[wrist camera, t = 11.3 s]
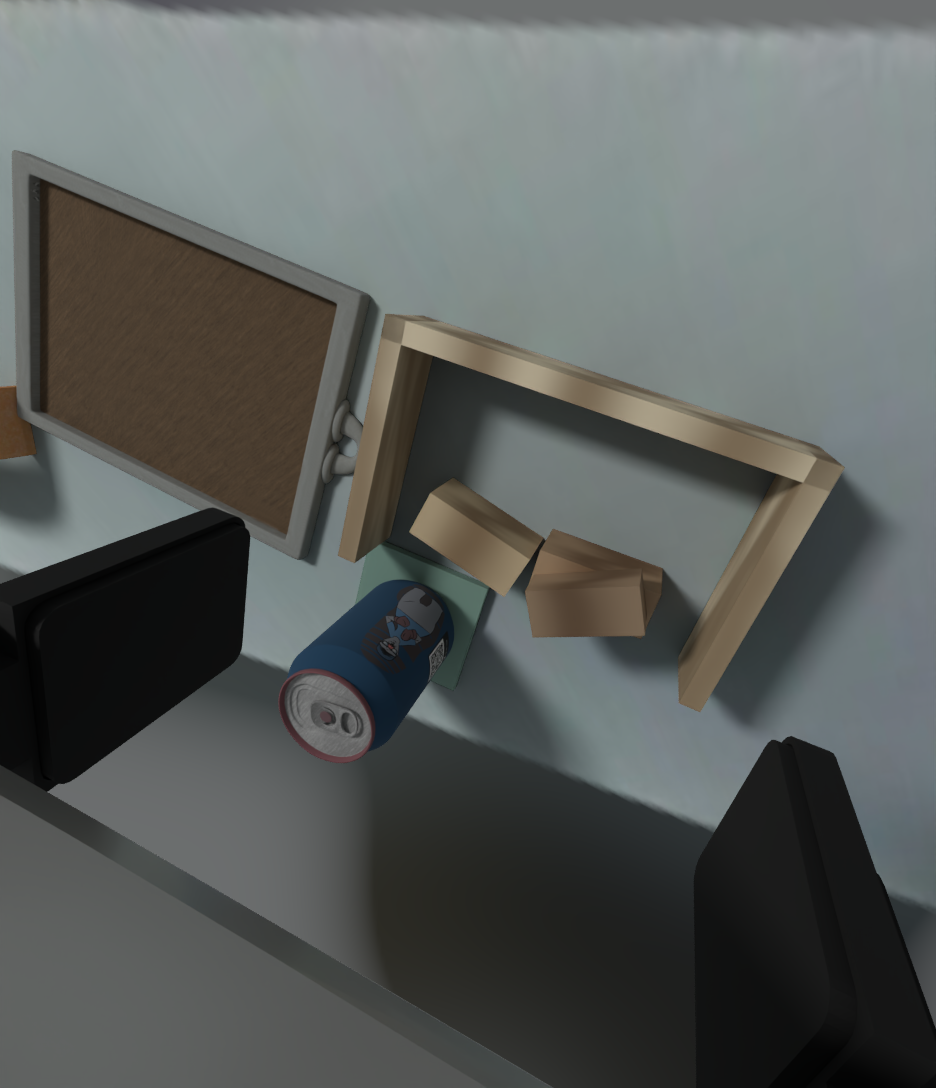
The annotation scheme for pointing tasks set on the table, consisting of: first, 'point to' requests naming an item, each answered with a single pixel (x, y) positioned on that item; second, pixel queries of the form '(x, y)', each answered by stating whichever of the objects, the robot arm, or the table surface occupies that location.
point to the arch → (13, 427)
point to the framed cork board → (181, 352)
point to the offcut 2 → (595, 563)
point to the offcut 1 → (475, 535)
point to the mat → (450, 585)
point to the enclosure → (795, 462)
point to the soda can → (366, 671)
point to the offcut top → (587, 604)
